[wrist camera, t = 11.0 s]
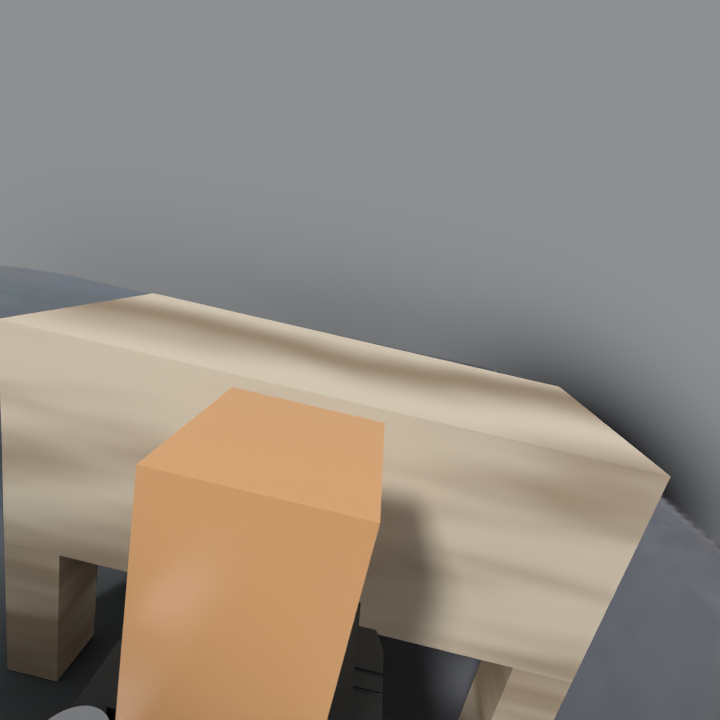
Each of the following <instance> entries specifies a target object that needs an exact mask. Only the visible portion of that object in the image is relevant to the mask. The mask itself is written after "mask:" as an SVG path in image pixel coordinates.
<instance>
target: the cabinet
mask: <svg viewBox="0 0 720 720" xmlns="http://www.w3.org/2000/svg"><path fill="white" fill-rule="evenodd" d="M232 387H234V388H238V389H243V390H247V391H251V392H255V393H260V394H264V395H268V396H272V397H277V398H281V399H285V400H289V401H294V402H298V403H302V404H306V405H311V406H315V407H319V408H323V409H328V410H332V411H336V412H340V413H345V414H349V415H353V416H357V417H362V418H366V419H370V420H374V421H379V422H383V423H385V429H384V450H383V472H382V494H381V515H380V525H379V529H378V533H377V537H376V540H375V544H374V548H373V551H372V555H371V559H370V563H369V566H368V570H367V574H366V577H365V581H364V585H363V588H362V592H361V596H360V600H359V602H360V603H361V607H360V619H359V626H362V627H366V628H370V629H374V630H376V631H377V633H378V634H379V635H383V636H387V637H391V638H395V639H399V640H403V641H407V642H411V643H415V644H419V645H423V646H427V647H431V648H435V649H439V650H443V651H447V652H451V653H455V654H459V655H463V656H467V657H471V658H475V659H479V660H481V663H480V665H479V668H478V670H477V673H476V675H475V678H474V680H473V683H472V685H471V688H470V691H469V693H468V696H467V698H466V701H465V703H464V706H463V708H462V711H461V714H460V716H459V719H458V720H554V718H555V716H556V714H557V712H558V710H559V708H560V706H561V704H562V702H563V699H564V697H565V695H566V693H567V691H568V689H569V687H570V685H571V683H572V681H573V679H574V677H575V674H576V672H577V670H578V668H579V666H580V664H581V662H582V660H583V658H584V656H585V654H586V652H587V649H588V647H589V645H590V643H591V641H592V639H593V637H594V635H595V633H596V631H597V629H598V627H599V624H600V622H601V620H602V618H603V616H604V614H605V612H606V610H607V608H608V606H609V604H610V602H611V600H612V597H613V595H614V593H615V591H616V589H617V587H618V585H619V583H620V581H621V579H622V577H623V575H624V572H625V570H626V568H627V566H628V564H629V562H630V560H631V558H632V556H633V554H634V552H635V550H636V547H637V545H638V543H639V541H640V539H641V537H642V535H643V533H644V531H645V529H646V527H647V525H648V522H649V520H650V518H651V516H652V514H653V512H654V510H655V508H656V506H657V504H658V502H659V500H660V498H661V495H662V493H663V491H664V489H665V487H666V485H667V483H668V480H669V479H670V476H669V475H668V474H667V473H665V472H664V471H663V470H662V469H660V468H659V467H658V466H656V464H654V463H653V462H652V461H650V460H649V459H648V458H647V457H646V456H644V455H643V454H642V453H640V452H639V451H638V450H637V449H636V448H634V447H633V446H632V445H630V444H629V443H628V442H627V441H626V440H625V439H623V438H622V437H621V436H620V435H618V434H617V433H616V432H615V431H613V430H612V429H611V428H609V427H608V426H607V425H606V424H604V423H603V422H602V421H601V420H600V419H598V418H597V417H596V416H595V415H594V414H592V413H591V412H590V411H589V410H587V409H586V408H585V407H584V406H582V405H581V404H580V403H579V402H577V401H576V400H575V399H574V398H572V397H571V396H570V395H569V394H567V393H566V392H565V391H564V390H562V389H561V388H560V387H557V386H552V385H548V384H544V383H540V382H535V381H531V380H526V379H522V378H518V377H514V376H509V375H505V374H501V373H496V372H492V371H488V370H483V369H479V368H475V367H470V366H466V365H462V364H457V363H453V362H449V361H444V360H440V359H436V358H431V357H427V356H423V355H418V354H414V353H410V352H405V351H401V350H397V349H392V348H388V347H384V346H379V345H375V344H371V343H367V342H362V341H358V340H354V339H349V338H345V337H341V336H336V335H332V334H328V333H323V332H319V331H315V330H310V329H306V328H302V327H297V326H293V325H289V324H284V323H280V322H276V321H271V320H267V319H263V318H258V317H254V316H250V315H245V314H241V313H237V312H232V311H228V310H223V309H219V308H215V307H211V306H206V305H202V304H198V303H193V302H189V301H185V300H180V299H176V298H172V297H167V296H163V295H159V294H154V293H153V294H147V295H141V296H135V297H129V298H123V299H117V300H111V301H105V302H99V303H92V304H86V305H80V306H74V307H68V308H62V309H56V310H50V311H44V312H38V313H32V314H26V315H20V316H13V317H7V318H1V319H0V393H1V432H2V471H3V511H4V550H5V590H6V629H7V669H9V670H13V671H17V672H21V673H25V674H29V675H33V676H36V677H40V678H44V679H48V680H52V681H56V682H57V681H58V680H59V679H60V677H61V676H62V675H63V673H64V672H65V671H66V670H67V668H68V667H69V666H70V665H71V663H72V662H73V661H74V659H75V658H76V657H77V656H78V654H79V653H80V652H81V651H82V649H83V648H84V647H85V646H86V644H87V643H88V642H89V640H90V639H91V638H92V637H93V635H94V626H95V606H96V586H97V566H98V565H100V566H104V567H109V568H113V569H117V570H121V571H125V572H128V561H129V549H130V536H131V524H132V512H133V500H134V488H135V476H136V464H138V463H139V462H140V461H141V460H143V459H144V458H145V457H146V456H147V455H149V454H150V453H151V452H152V451H154V450H155V449H156V448H157V447H159V446H160V445H161V444H162V443H164V442H165V441H166V440H167V439H168V438H170V437H171V436H172V435H173V434H175V433H176V432H177V431H178V430H180V429H181V428H182V427H183V426H185V425H186V424H187V423H188V422H190V421H191V420H192V419H193V418H194V417H196V416H197V415H198V414H199V413H201V412H202V411H203V410H204V409H206V408H207V407H208V406H209V405H211V404H212V403H213V402H214V401H215V400H217V399H218V398H219V397H220V396H222V395H223V394H224V393H225V392H227V391H228V390H229V389H230V388H232Z"/></svg>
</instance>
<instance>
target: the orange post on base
mask: <svg viewBox="0 0 720 720" xmlns="http://www.w3.org/2000/svg"><path fill="white" fill-rule="evenodd" d="M384 429H385V423H383V422H379V421H374V420H370V419H366V418H362V417H357V416H353V415H349V414H345V413H340V412H336V411H332V410H328V409H323V408H319V407H315V406H311V405H306V404H302V403H298V402H294V401H289V400H285V399H281V398H277V397H272V396H268V395H264V394H260V393H255V392H251V391H247V390H243V389H238V388H234V387H232V388H230V389H229V390H228V391H227V392H225V393H224V394H223V395H222V396H220V397H219V398H218V399H217V400H215V401H214V402H213V403H212V404H211V405H209V406H208V407H207V408H206V409H204V410H203V411H202V412H201V413H199V414H198V415H197V416H196V417H194V418H193V419H192V420H191V421H190V422H188V423H187V424H186V425H185V426H183V427H182V428H181V429H180V430H178V431H177V432H176V433H175V434H173V435H172V436H171V437H170V438H168V439H167V440H166V441H165V442H164V443H162V444H161V445H160V446H159V447H157V448H156V449H155V450H154V451H152V452H151V453H150V454H149V455H147V456H146V457H145V458H144V459H143V460H141V461H140V462H139V463H138V464H136V476H135V488H134V500H133V512H132V524H131V536H130V549H129V561H128V573H127V585H126V597H125V609H124V622H123V634H122V646H121V658H120V670H119V682H118V695H117V707H116V719H115V720H327V718H328V714H329V711H330V707H331V703H332V700H333V696H334V692H335V689H336V685H337V681H338V677H339V674H340V670H341V666H342V663H343V659H344V655H345V651H346V648H347V644H348V640H349V637H350V633H351V629H352V626H353V622H354V618H355V614H356V611H357V607H358V603H359V600H360V596H361V592H362V588H363V585H364V581H365V577H366V574H367V570H368V566H369V563H370V559H371V555H372V551H373V548H374V544H375V540H376V537H377V533H378V529H379V525H380V515H381V494H382V472H383V450H384Z"/></svg>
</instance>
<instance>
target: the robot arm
mask: <svg viewBox="0 0 720 720" xmlns="http://www.w3.org/2000/svg"><path fill="white" fill-rule="evenodd" d="M360 607H361V603H360V602H359V603H358V607H357V611H356V614H355V618H354V622H353V626H352V629H351V633H350V637H349V640H348V644H347V648H346V651H345V655H344V659H343V663H342V666H341V670H340V674H339V677H338V681H337V685H336V689H335V692H334V696H333V700H332V703H331V707H330V711H329V714H328V718H327V720H382V706H383V698H382V694H383V664H384V650H383V648H382V645H381V642H380V639H379V636H378V633H377V631H376V630H374V629H370V628H366V627H362V626H359V619H360ZM121 646H122V637H121V638H120V639H119V641H118V642H117V644H116V645H115V646H114V648H113V649H112V651H111V652H110V653H109V655H108V656H107V658H106V659H105V660H104V662H103V663H102V665H101V666H100V667H99V669H98V670H97V672H96V673H95V674H94V676H93V677H92V679H91V680H90V682H89V683H88V684H87V686H86V687H85V689H84V690H83V691H82V693H81V694H80V696H79V697H78V698H77V699H76V701H75V702H74V703H73V704H72V705H71V706H70V707H69V708H68V709H67V710H64V711H62V712H60V713H58V714H56V715H55V716H53V717H52V718H50V719H49V720H115V719H116V707H117V695H118V682H119V670H120V658H121Z"/></svg>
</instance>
